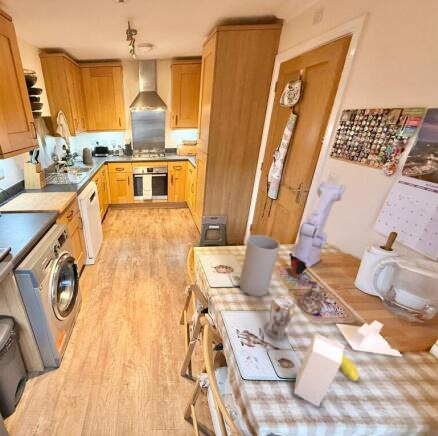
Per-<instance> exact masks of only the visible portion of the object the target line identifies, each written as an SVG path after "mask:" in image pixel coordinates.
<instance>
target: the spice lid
mask: <svg viewBox="0 0 438 436" xmlns="http://www.w3.org/2000/svg"><path fill="white" fill-rule="evenodd" d="M297 261H301V260H299V259H298V258H294V259H293V261H292V265H293V266H295V267H297Z"/></svg>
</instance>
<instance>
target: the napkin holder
mask: <svg viewBox="0 0 438 436" xmlns="http://www.w3.org/2000/svg"><path fill="white" fill-rule="evenodd" d="M335 325H336V327H337V328H338V329H339V332H341V334H342V336H344V338H345V340H346V341H347V343H348V344H349V346H350V347H351V348H352V350H353V351H359V352H366V353H373V354H382V355H388V356H395V357H404V356H403V355H402V354H401V353H400V351H399V350H398V349H397V350H395V349H391V348H390V346H389V345H388V343H387V341H385V339H383V337H382V336H381V335H380V334H379V332H380V331H382V328H383V326H384V324H383V323H381V322H379V321H378V320H376V319H375V320H374V321H373V322H371V323H370V324H368V323H366V322H365V323H364V324H362V326H359V325H351V324H343V323H335Z"/></svg>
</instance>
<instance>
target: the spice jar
mask: <svg viewBox="0 0 438 436" xmlns="http://www.w3.org/2000/svg"><path fill="white" fill-rule="evenodd" d="M296 271H297V267H295V266H293V265H292V267H291V269H290V273H289V276H291V278H294V279H299V278H300V277H301V274H297V273H296Z"/></svg>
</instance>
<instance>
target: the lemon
mask: <svg viewBox="0 0 438 436" xmlns="http://www.w3.org/2000/svg"><path fill="white" fill-rule="evenodd" d="M339 369H341V370H342V372H343V373H344V375H345V376H346V377H347V378H348V379H349V380H351V381H354V382H355V381H357V380H358V379H359V371H358V369H357V367H356V366H355V364H354V363H353V362H352V360H351V359H349V358H348V357H347V356H346V355H345V354H343V356H342V362H341V365H340V367H339Z"/></svg>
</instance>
